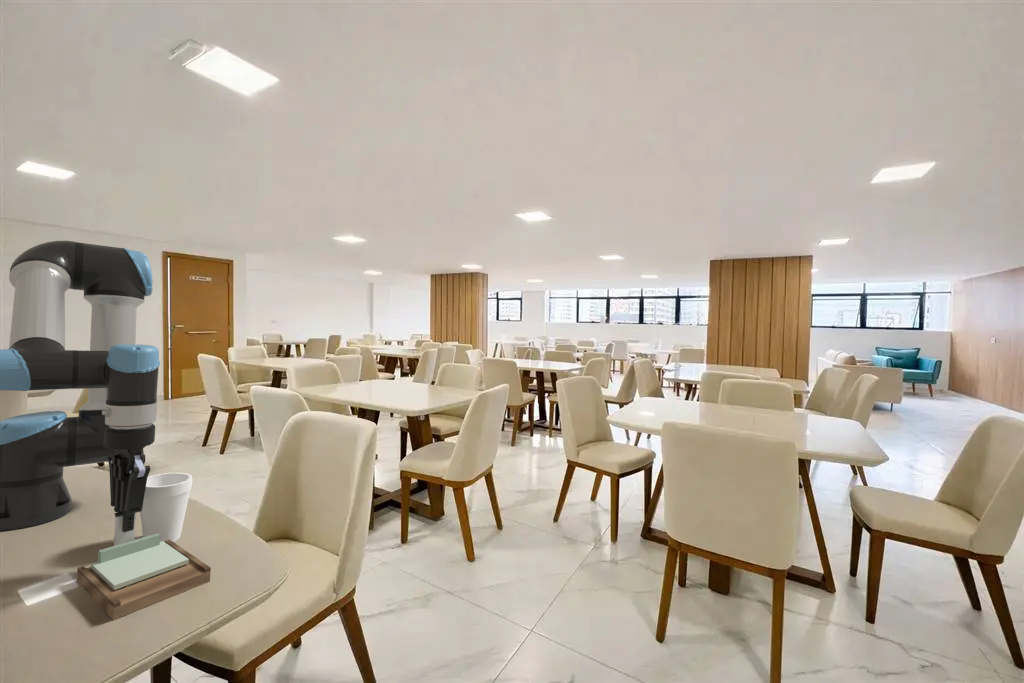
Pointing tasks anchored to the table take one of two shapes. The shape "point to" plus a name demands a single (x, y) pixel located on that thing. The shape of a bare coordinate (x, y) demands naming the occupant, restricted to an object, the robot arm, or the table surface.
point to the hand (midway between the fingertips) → (124, 545)
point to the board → (144, 586)
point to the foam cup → (165, 505)
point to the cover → (136, 561)
